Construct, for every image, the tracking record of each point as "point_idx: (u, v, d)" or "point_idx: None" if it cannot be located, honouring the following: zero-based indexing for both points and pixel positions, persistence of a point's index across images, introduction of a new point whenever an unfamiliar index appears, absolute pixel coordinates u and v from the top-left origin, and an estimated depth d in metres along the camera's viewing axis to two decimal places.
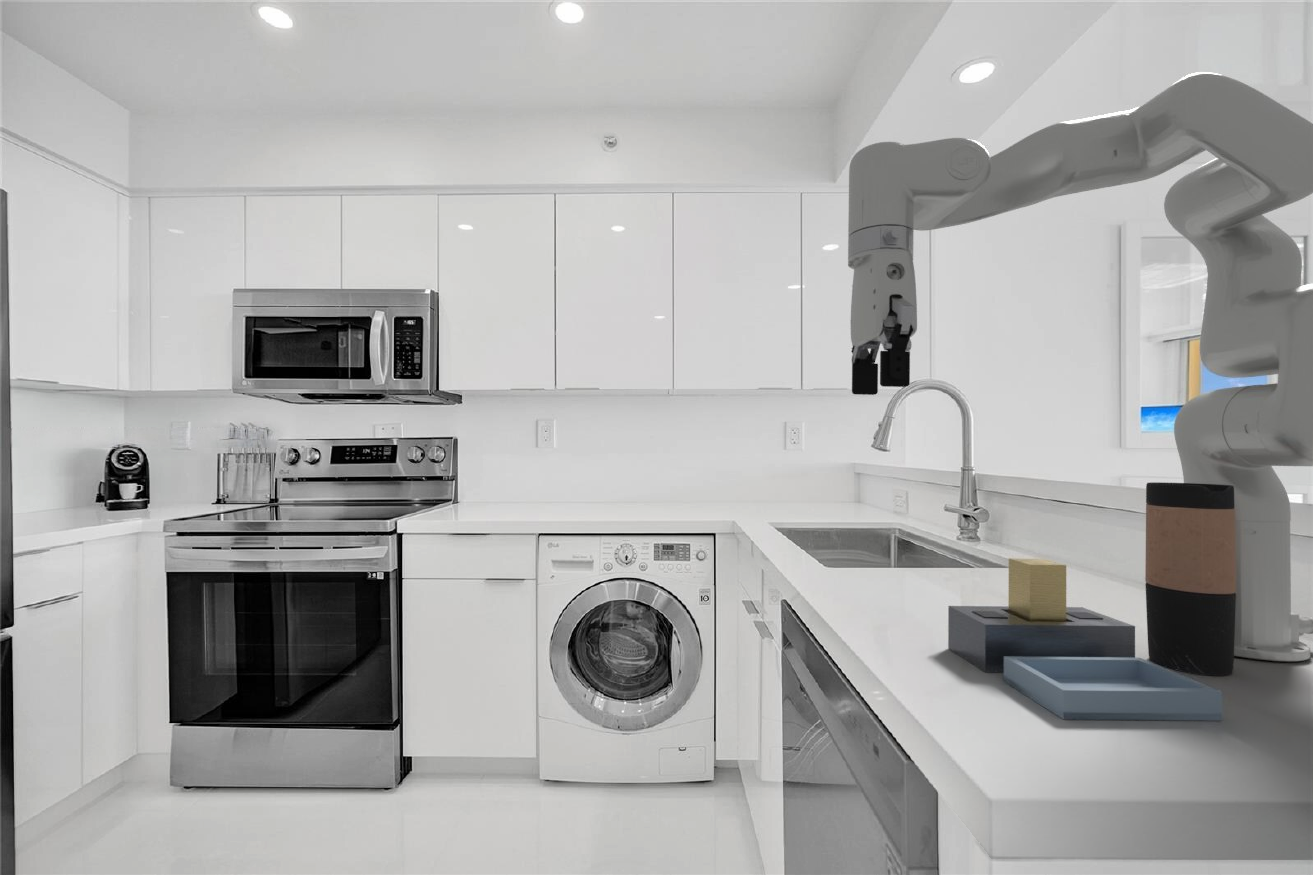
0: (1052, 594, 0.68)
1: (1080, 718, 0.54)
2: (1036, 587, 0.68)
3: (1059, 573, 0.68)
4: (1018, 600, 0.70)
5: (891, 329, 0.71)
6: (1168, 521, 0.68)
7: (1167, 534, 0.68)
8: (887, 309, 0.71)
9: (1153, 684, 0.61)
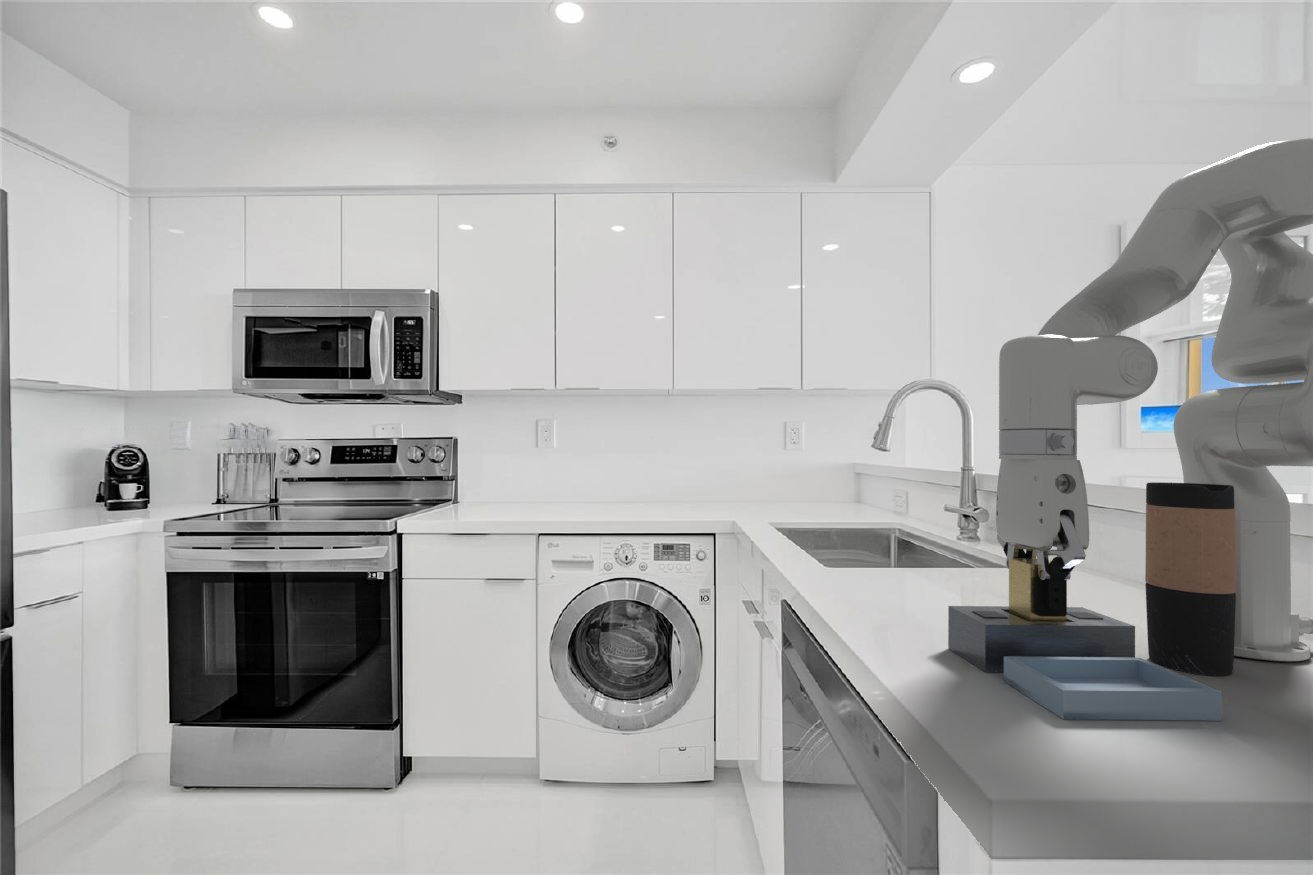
0: None
1: (1080, 718, 0.54)
2: None
3: None
4: (1018, 600, 0.70)
5: (1052, 554, 0.67)
6: (1168, 521, 0.68)
7: (1167, 534, 0.68)
8: (1057, 526, 0.65)
9: (1153, 684, 0.61)
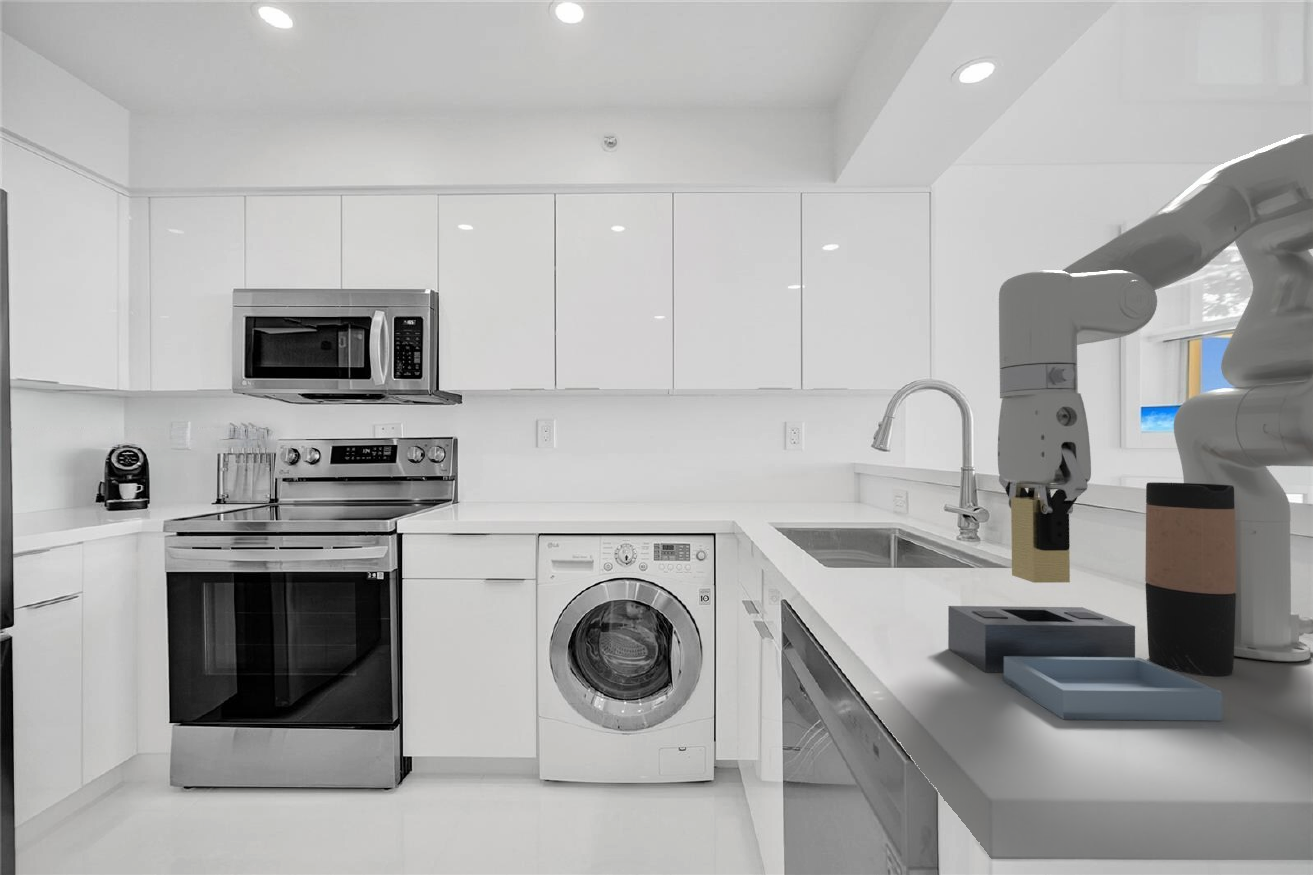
0: None
1: (1080, 718, 0.54)
2: None
3: None
4: (1021, 537, 0.70)
5: (1054, 488, 0.67)
6: (1168, 521, 0.68)
7: (1167, 534, 0.68)
8: (1059, 458, 0.65)
9: (1153, 684, 0.61)
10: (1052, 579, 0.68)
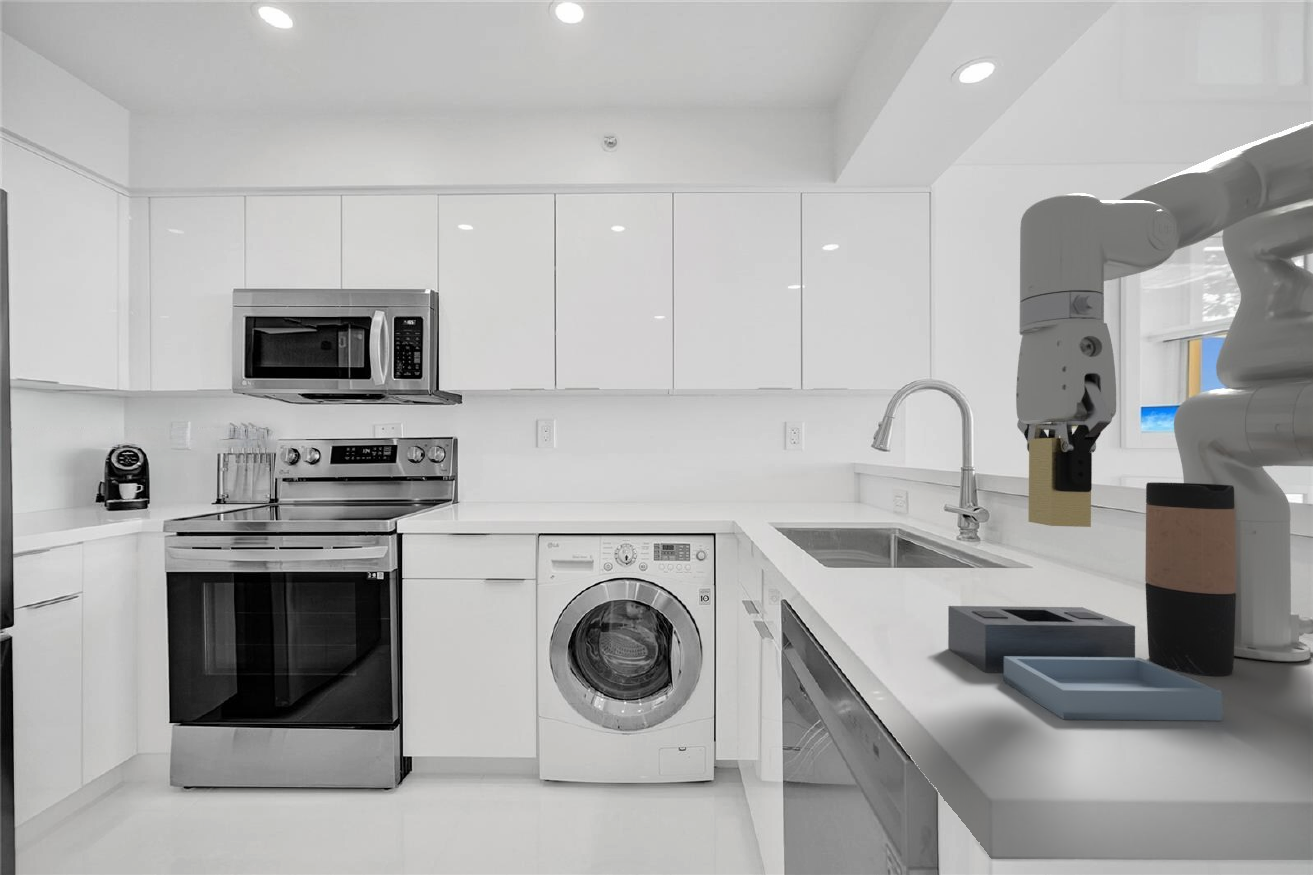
0: None
1: (1080, 718, 0.54)
2: None
3: None
4: (1039, 480, 0.66)
5: (1076, 424, 0.63)
6: (1168, 521, 0.68)
7: (1167, 534, 0.68)
8: (1082, 391, 0.61)
9: (1153, 684, 0.61)
10: (1071, 523, 0.64)
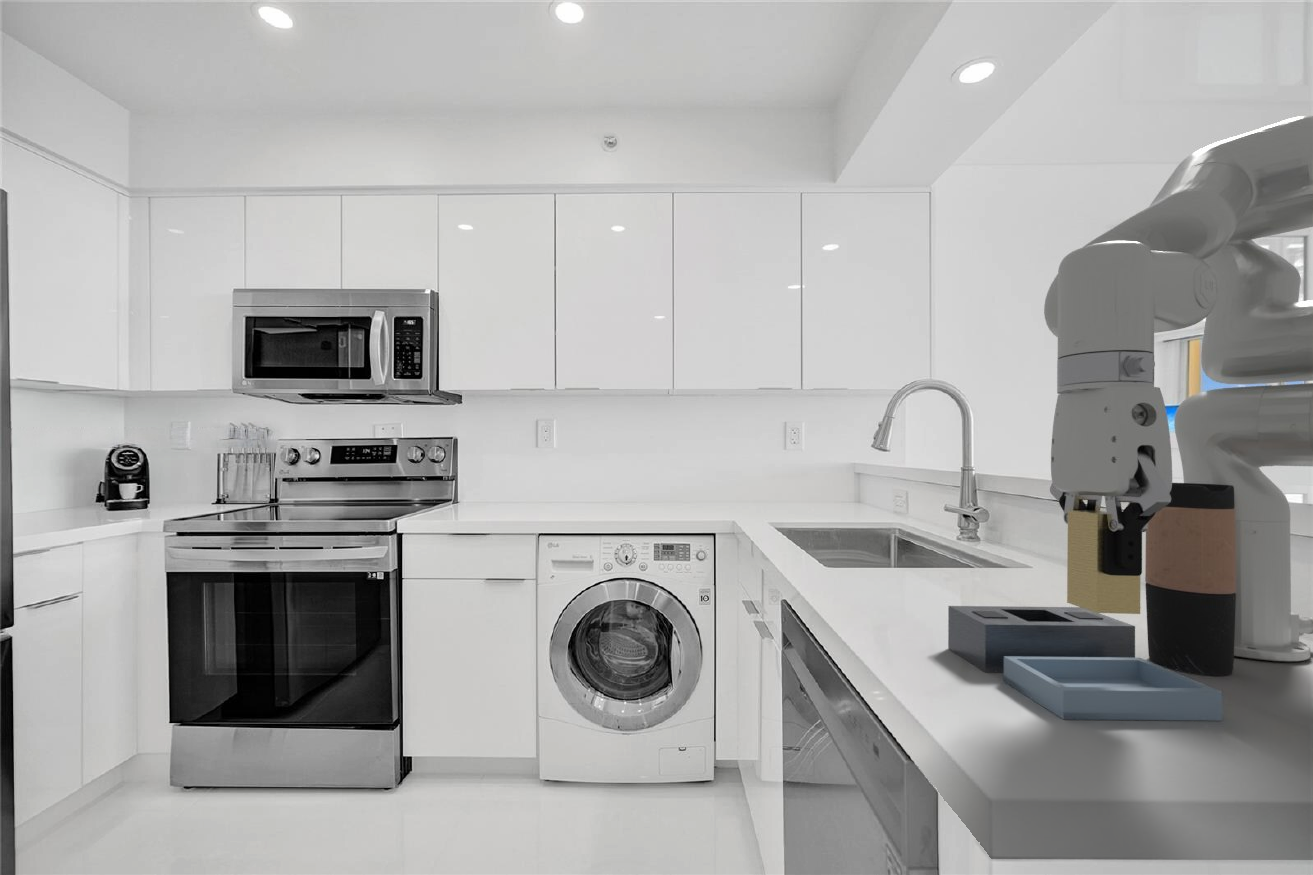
0: None
1: (1080, 718, 0.54)
2: None
3: None
4: (1080, 558, 0.59)
5: (1125, 501, 0.56)
6: (1168, 521, 0.68)
7: (1167, 534, 0.68)
8: (1135, 465, 0.54)
9: (1153, 684, 0.61)
10: (1119, 609, 0.57)
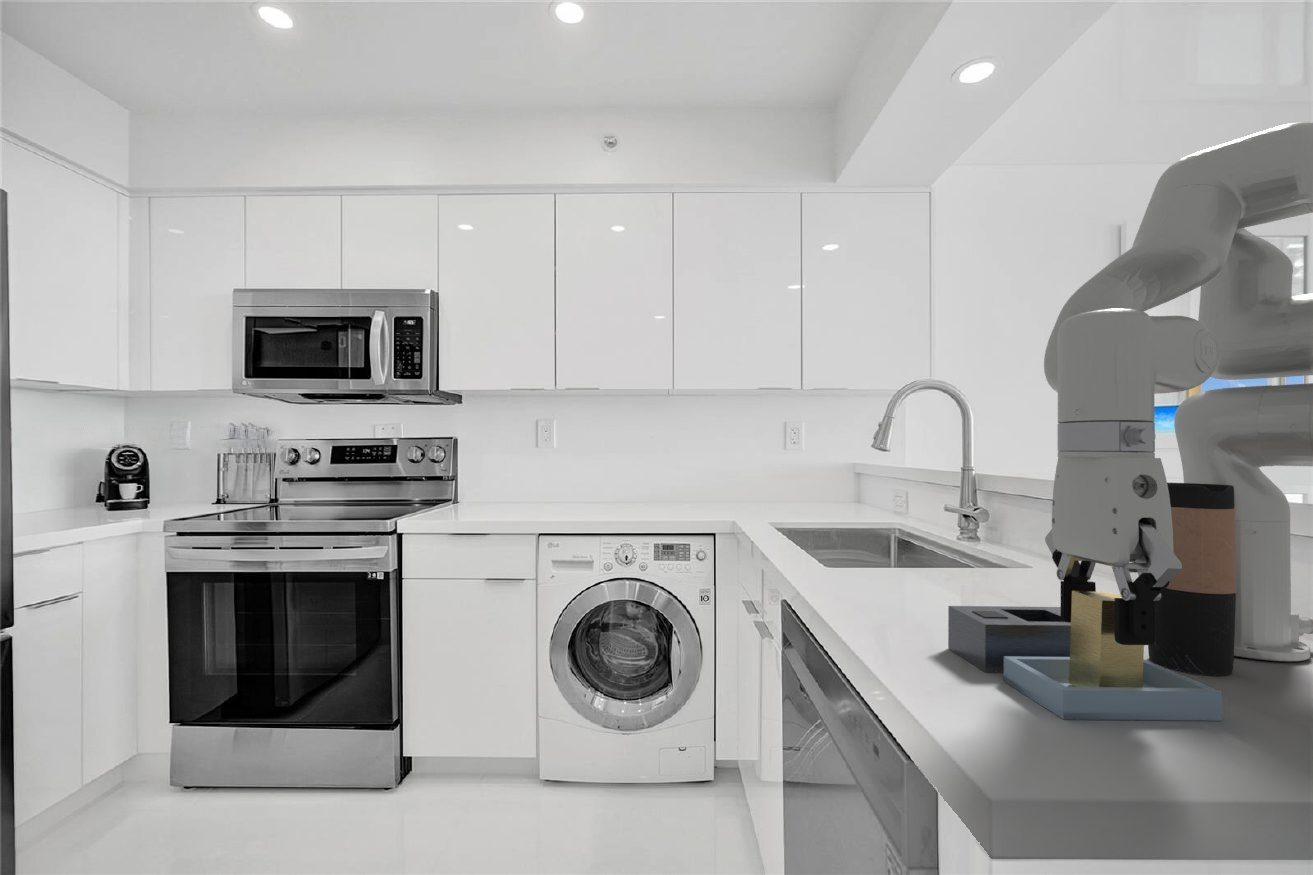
0: None
1: (1080, 718, 0.54)
2: (1109, 628, 0.57)
3: None
4: (1083, 641, 0.59)
5: (1133, 568, 0.55)
6: None
7: None
8: (1136, 537, 0.54)
9: (1153, 684, 0.61)
10: None
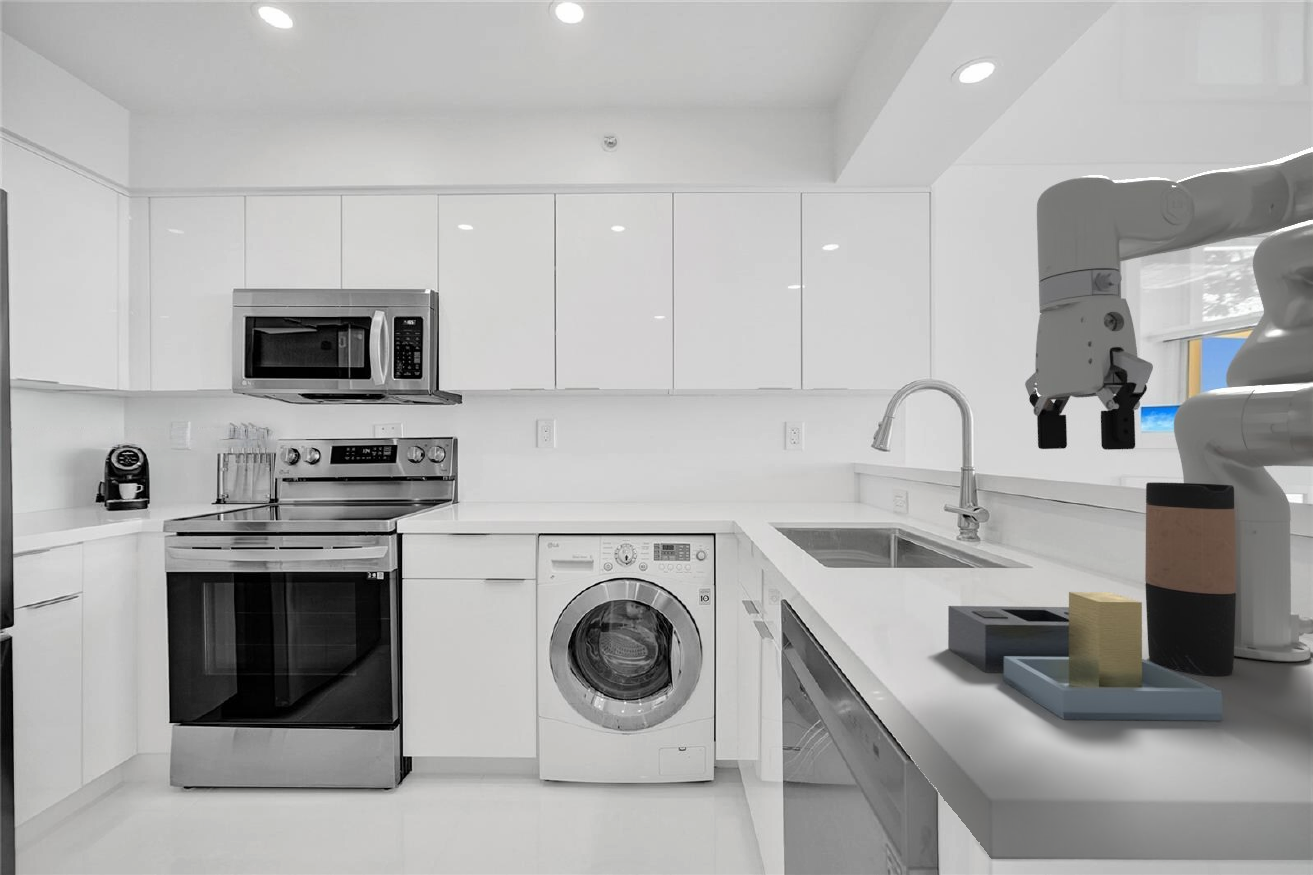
0: (1126, 637, 0.57)
1: (1080, 718, 0.54)
2: (1106, 629, 0.57)
3: (1133, 612, 0.57)
4: (1082, 643, 0.59)
5: (1111, 385, 0.64)
6: (1168, 521, 0.68)
7: (1167, 534, 0.68)
8: (1108, 364, 0.64)
9: (1153, 684, 0.61)
10: None
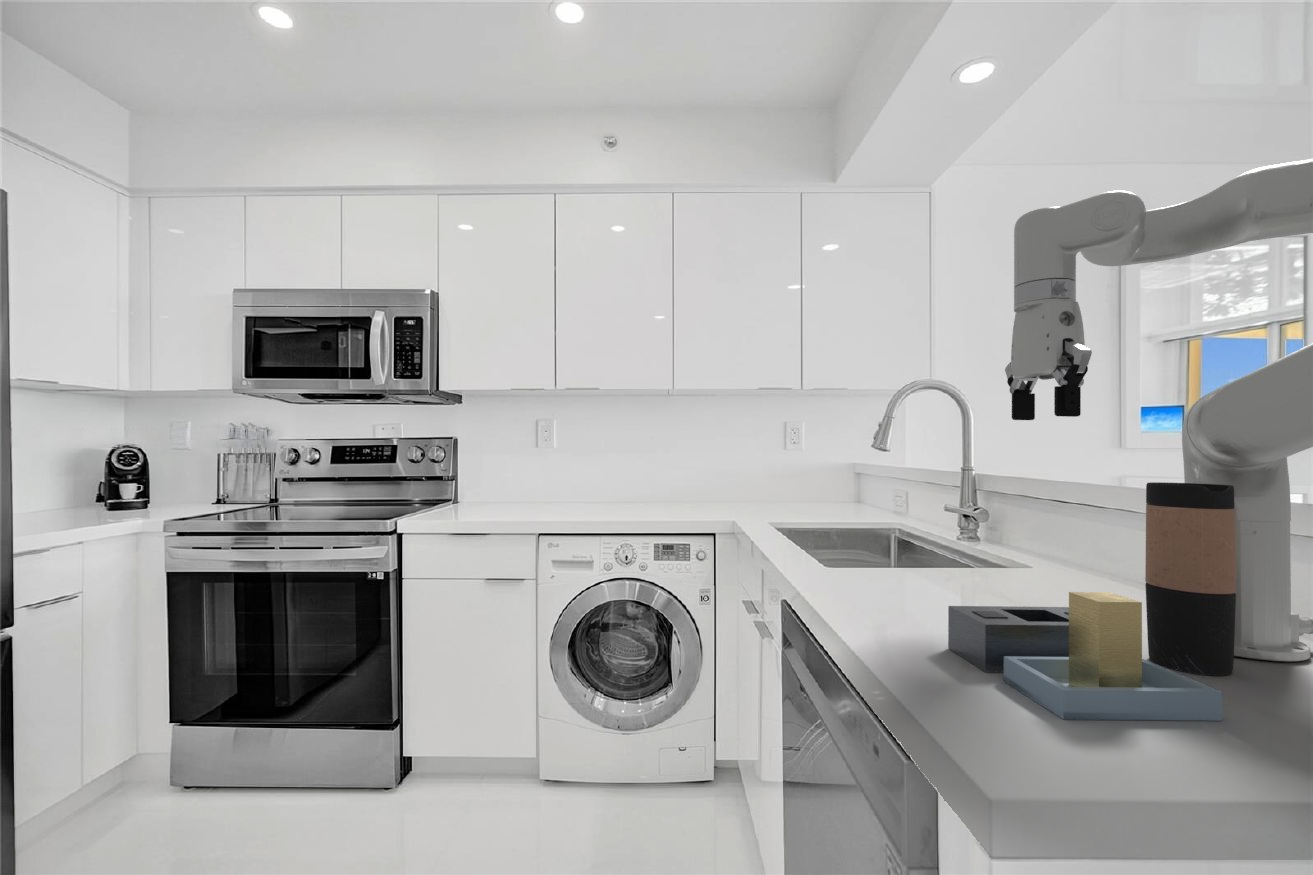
0: (1126, 637, 0.57)
1: (1080, 718, 0.54)
2: (1106, 629, 0.57)
3: (1133, 612, 0.57)
4: (1082, 643, 0.59)
5: (1063, 367, 0.84)
6: (1168, 521, 0.68)
7: (1167, 534, 0.68)
8: (1061, 351, 0.84)
9: (1153, 684, 0.61)
10: None
